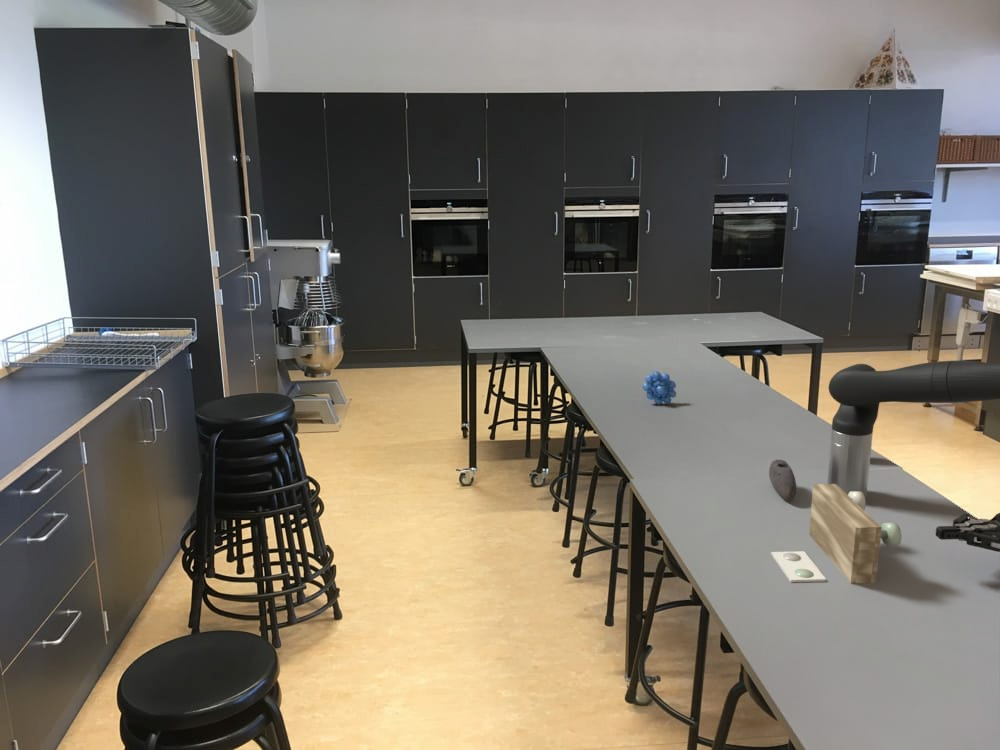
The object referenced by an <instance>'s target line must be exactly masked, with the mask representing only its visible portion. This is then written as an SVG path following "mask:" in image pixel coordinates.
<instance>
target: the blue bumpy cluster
mask: <svg viewBox="0 0 1000 750" xmlns="http://www.w3.org/2000/svg"><path fill="white" fill-rule="evenodd" d="M651 374H652V375H651ZM651 374H647V375H645V378H644V380H645V383H643V384H642V389H643V390H644V392H646V394H645V396H646V398H647V399H648V400H650V401H653V402H654V403H655V404H656V405H659V406H660V405H662V404H663V403H664V404H667V405H669V404H671V403H672V399H673V398H675V397H677V392H676V387H677V385H676V382H675V381H674V380H671V377H670V375H669V374H668V373H665V372H663V373H662V374H661V373H660V371H657V370H655V371H653V372H652V373H651Z"/></svg>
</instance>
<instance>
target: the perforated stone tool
mask: <svg viewBox="0 0 1000 750" xmlns="http://www.w3.org/2000/svg"><path fill="white" fill-rule="evenodd" d="M768 474H769V475H768V477H769V480H770V483H771V485H772V488H773V489H774V490H775V492H776V493H777V494H778V496H780V497H781V498H782V499H783V500H784V501H786V502H792V501H793V500H794V499H795V497H796V493H797V482H796V477H795V474H794V471H793V469H792V467H791V466H790V465H789V463H788V462H787V461H785V460H783V459H775V460H773V461H772V462H771V464H770V467H769V470H768Z"/></svg>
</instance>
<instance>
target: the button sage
mask: <svg viewBox="0 0 1000 750" xmlns="http://www.w3.org/2000/svg"><path fill="white" fill-rule="evenodd" d="M880 526H881V527H882V528H881V538H880V539H881V540H882V542H883V544H884V545H885V546H899V545H900V544H901V542H902V532H901V531H902V530H901V528H900V526H899V524H898V523H897V522H884V523H882V524H881V525H880Z"/></svg>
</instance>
